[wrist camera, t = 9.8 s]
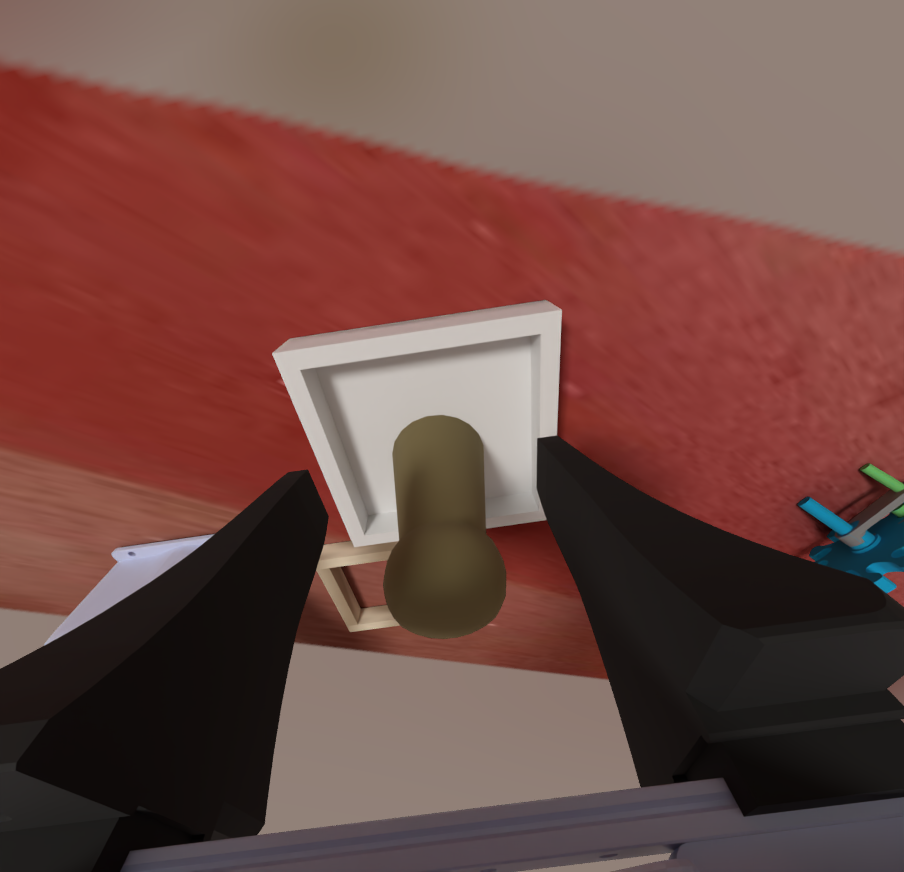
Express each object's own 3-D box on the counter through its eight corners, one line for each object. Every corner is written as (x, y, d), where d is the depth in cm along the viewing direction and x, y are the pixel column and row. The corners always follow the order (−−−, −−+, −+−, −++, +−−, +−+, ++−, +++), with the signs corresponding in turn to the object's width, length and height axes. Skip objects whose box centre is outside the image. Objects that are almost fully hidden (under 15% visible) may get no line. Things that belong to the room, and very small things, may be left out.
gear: (798, 580, 31) (868, 630, 22) (735, 531, 33) (775, 558, 24) (914, 494, 28) (1047, 511, 19) (836, 446, 30) (924, 442, 21)
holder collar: (353, 616, 32) (350, 632, 31) (317, 545, 27) (311, 561, 26) (457, 601, 32) (458, 617, 31) (442, 528, 27) (442, 543, 26)
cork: (491, 479, 24) (533, 644, 14) (407, 498, 24) (396, 669, 15) (474, 404, 21) (514, 553, 11) (378, 427, 21) (341, 589, 12)
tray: (360, 520, 26) (354, 547, 24) (289, 338, 18) (272, 353, 16) (542, 494, 26) (553, 519, 24) (546, 299, 18) (561, 309, 16)
